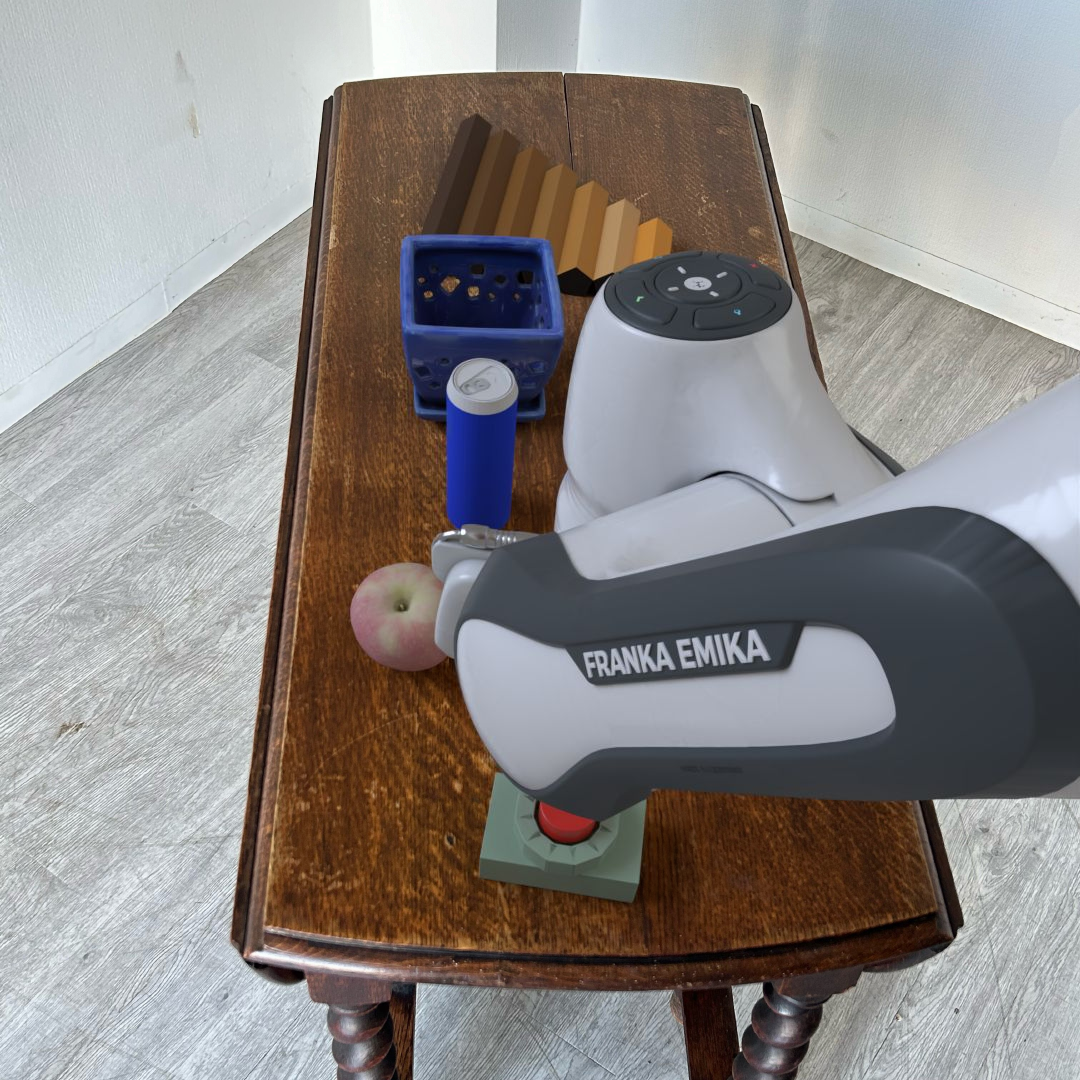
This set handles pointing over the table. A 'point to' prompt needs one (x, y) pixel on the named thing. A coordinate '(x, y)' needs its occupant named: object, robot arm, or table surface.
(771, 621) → the robot arm
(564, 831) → the power button
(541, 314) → the flower pot
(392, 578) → the apple
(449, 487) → the beverage can
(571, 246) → the pan flute
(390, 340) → the table surface
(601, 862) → the control block
